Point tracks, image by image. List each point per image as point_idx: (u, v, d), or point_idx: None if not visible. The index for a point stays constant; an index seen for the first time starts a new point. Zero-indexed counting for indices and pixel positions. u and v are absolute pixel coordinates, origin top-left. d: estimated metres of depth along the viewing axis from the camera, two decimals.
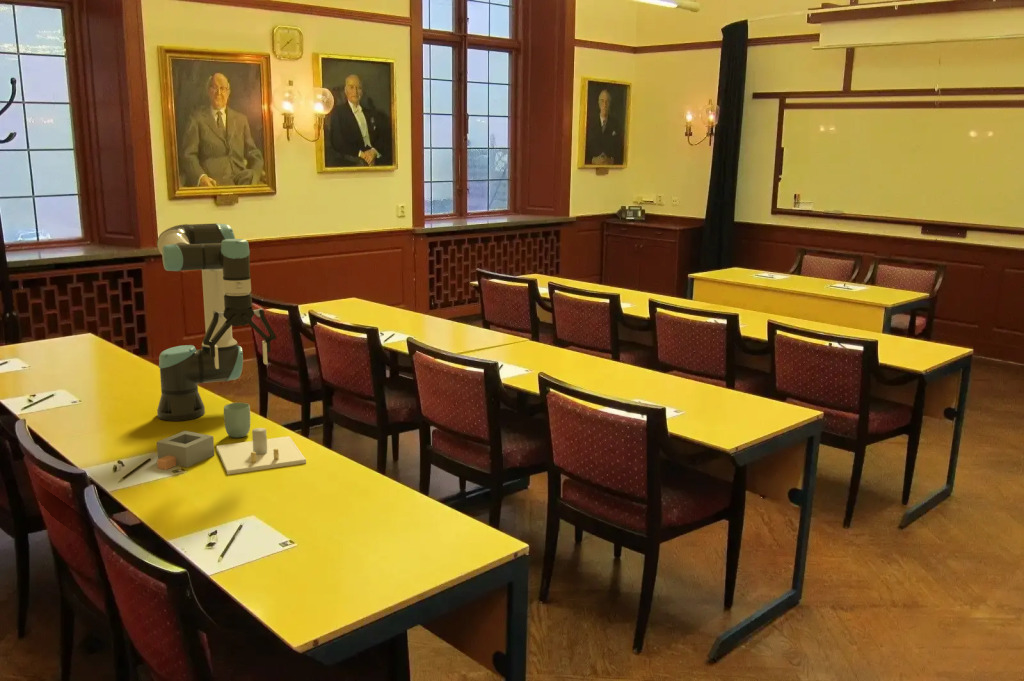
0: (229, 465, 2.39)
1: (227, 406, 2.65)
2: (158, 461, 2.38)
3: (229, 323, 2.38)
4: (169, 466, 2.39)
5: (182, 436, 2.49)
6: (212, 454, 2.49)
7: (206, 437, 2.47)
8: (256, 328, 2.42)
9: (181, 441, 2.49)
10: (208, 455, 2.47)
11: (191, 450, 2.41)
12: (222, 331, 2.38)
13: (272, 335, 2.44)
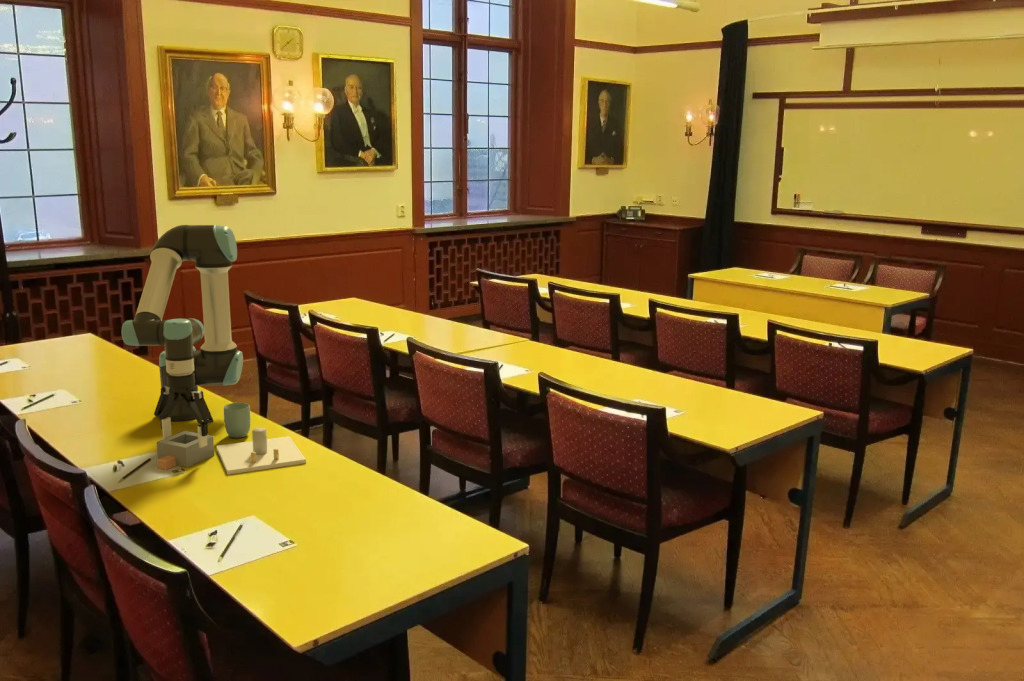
0: (229, 465, 2.39)
1: (227, 406, 2.65)
2: (158, 461, 2.38)
3: (170, 400, 2.42)
4: (169, 466, 2.39)
5: (182, 436, 2.49)
6: (212, 454, 2.49)
7: None
8: (191, 410, 2.40)
9: (181, 441, 2.49)
10: (208, 455, 2.47)
11: (191, 450, 2.41)
12: (166, 406, 2.44)
13: (204, 420, 2.39)
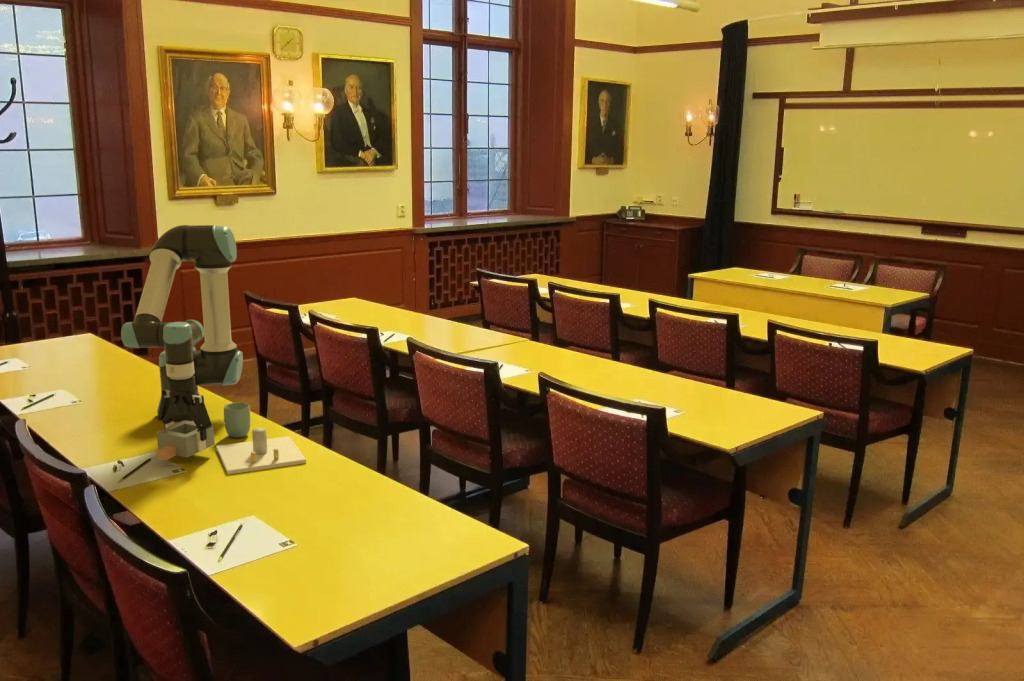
0: (229, 465, 2.39)
1: (227, 406, 2.65)
2: (158, 451, 2.38)
3: (171, 403, 2.43)
4: (169, 456, 2.39)
5: (182, 426, 2.49)
6: (212, 444, 2.49)
7: None
8: (191, 414, 2.41)
9: (181, 431, 2.49)
10: (208, 445, 2.47)
11: (191, 440, 2.41)
12: (169, 410, 2.45)
13: (203, 425, 2.41)
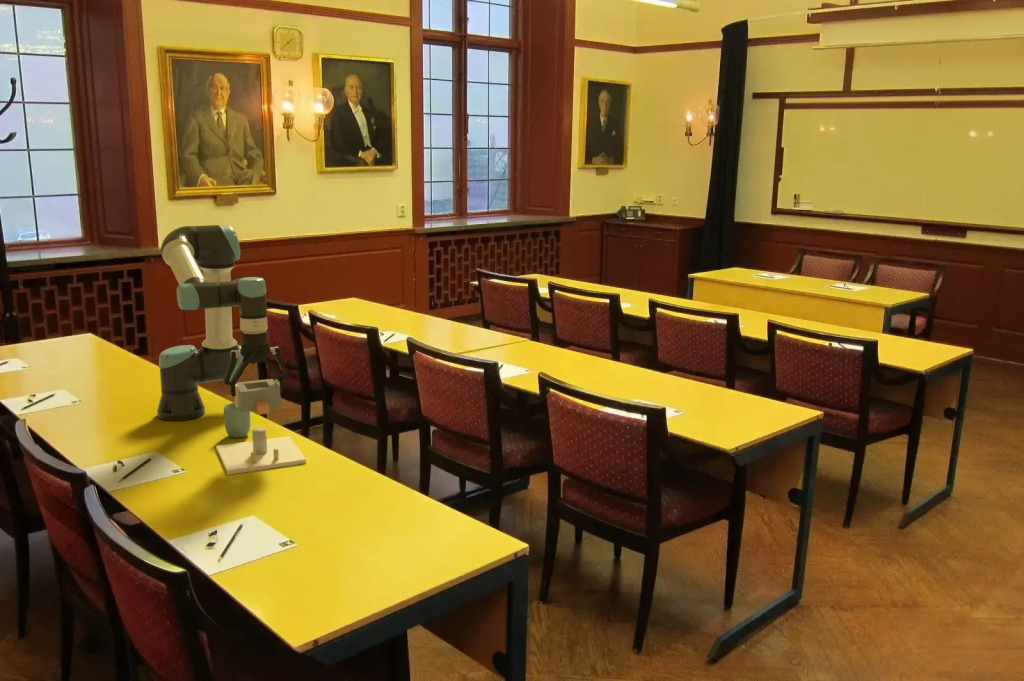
0: (229, 465, 2.39)
1: (227, 406, 2.65)
2: (260, 407, 2.37)
3: (247, 361, 2.40)
4: None
5: None
6: None
7: (270, 380, 2.50)
8: (271, 366, 2.44)
9: None
10: None
11: None
12: (241, 370, 2.41)
13: (285, 374, 2.47)
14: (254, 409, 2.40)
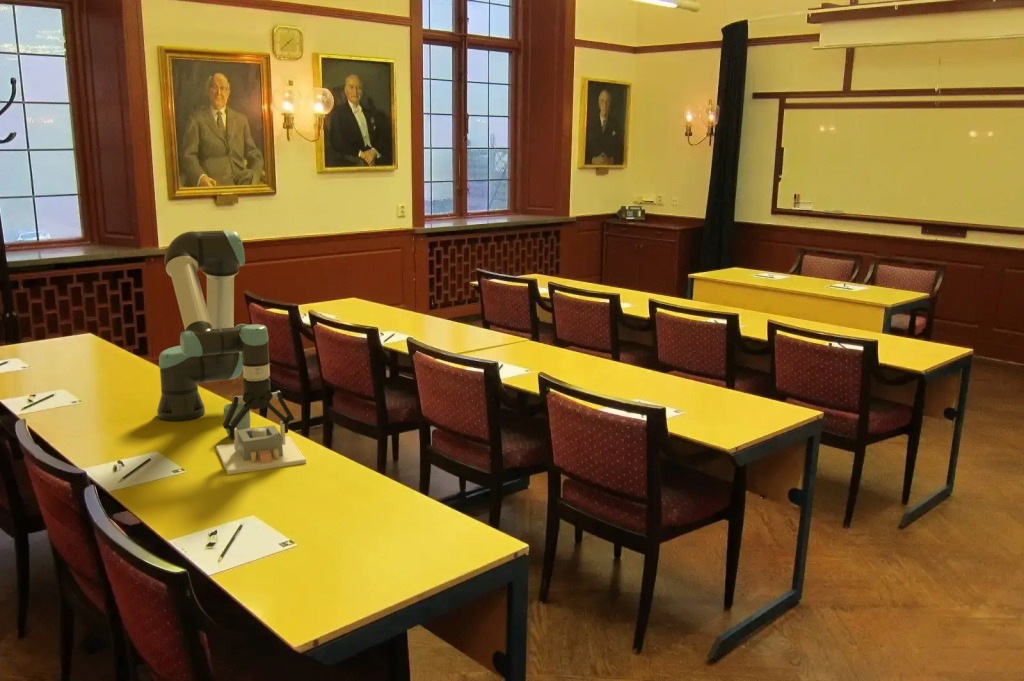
0: (229, 465, 2.39)
1: (227, 406, 2.65)
2: (262, 456, 2.40)
3: (248, 407, 2.43)
4: None
5: (246, 433, 2.49)
6: None
7: (272, 427, 2.53)
8: (274, 410, 2.48)
9: None
10: None
11: None
12: (241, 415, 2.43)
13: (290, 416, 2.50)
14: (256, 457, 2.44)
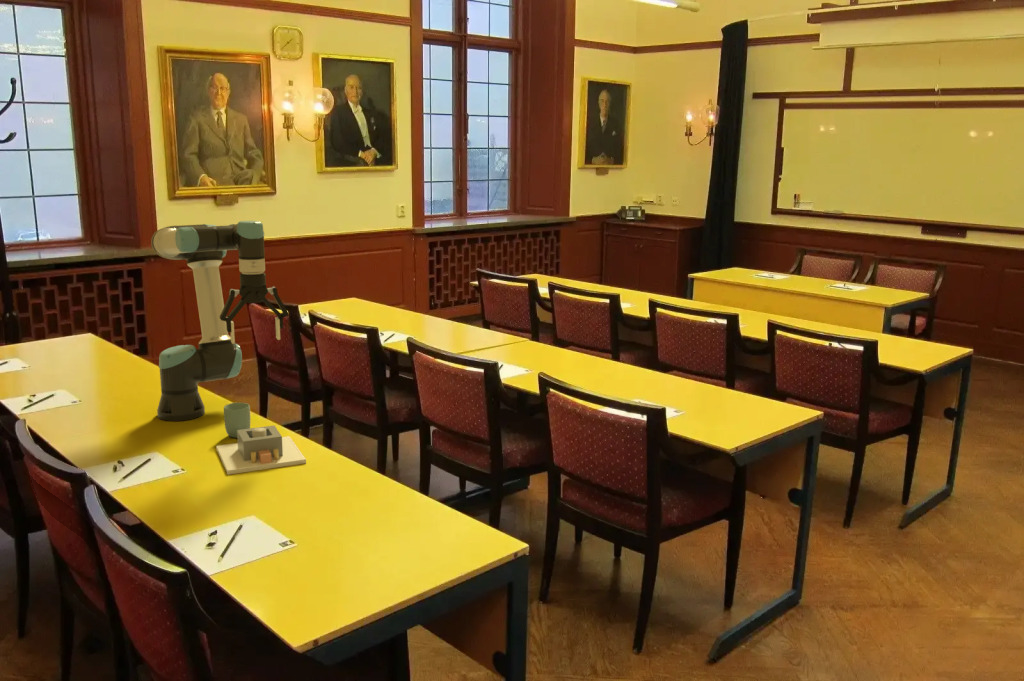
0: (229, 465, 2.39)
1: (227, 406, 2.65)
2: (262, 456, 2.40)
3: (244, 300, 2.52)
4: None
5: (246, 433, 2.49)
6: None
7: (272, 427, 2.53)
8: (270, 305, 2.56)
9: None
10: None
11: None
12: (238, 308, 2.52)
13: (285, 312, 2.59)
14: (256, 457, 2.44)
